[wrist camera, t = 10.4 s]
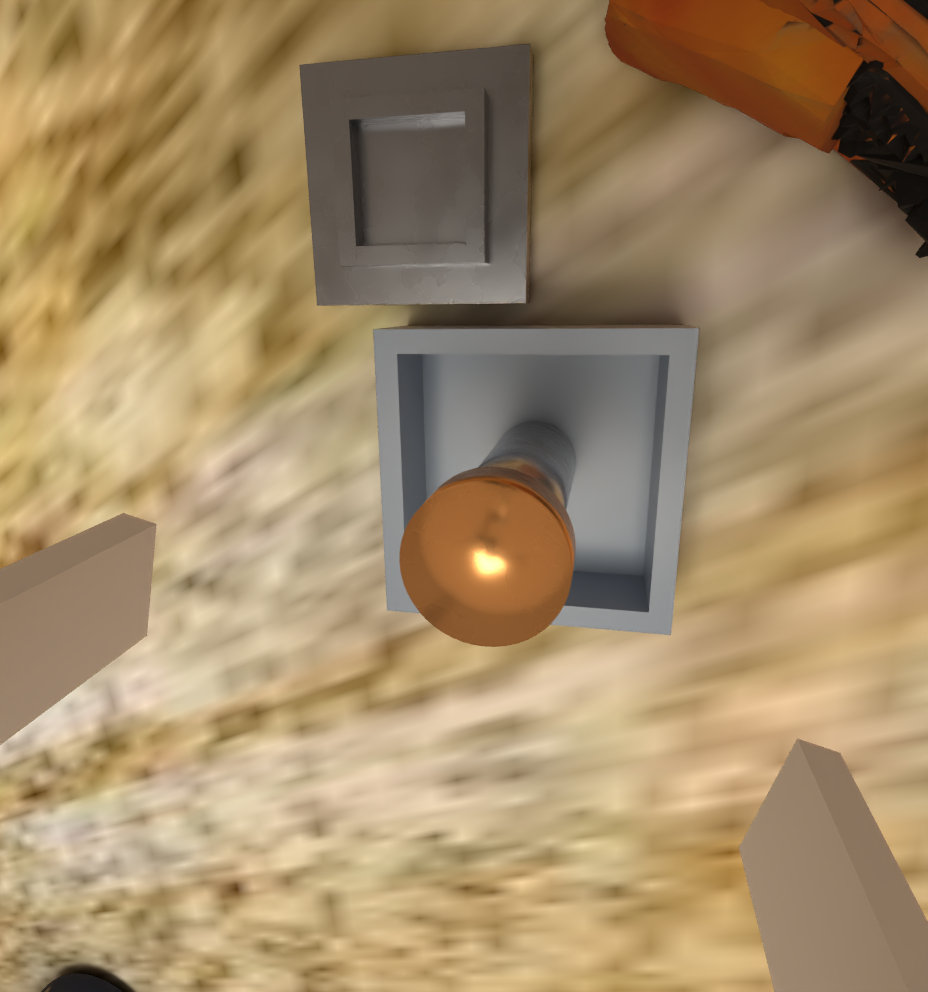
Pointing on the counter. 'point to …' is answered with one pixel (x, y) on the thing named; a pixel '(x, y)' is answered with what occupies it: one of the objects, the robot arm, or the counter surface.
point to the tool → (802, 74)
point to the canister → (80, 984)
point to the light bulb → (496, 542)
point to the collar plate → (421, 177)
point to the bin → (573, 410)
